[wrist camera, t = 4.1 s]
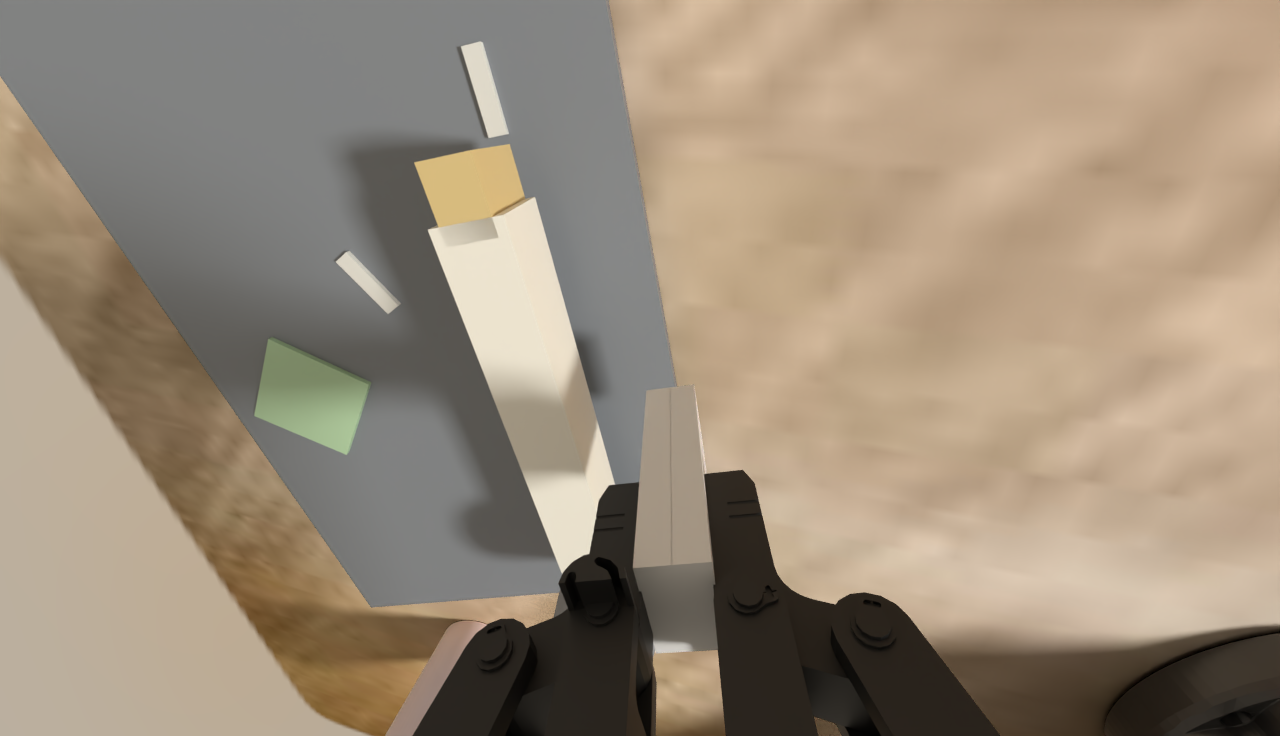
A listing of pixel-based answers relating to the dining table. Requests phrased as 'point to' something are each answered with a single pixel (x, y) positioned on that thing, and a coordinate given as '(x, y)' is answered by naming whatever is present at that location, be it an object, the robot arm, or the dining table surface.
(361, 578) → the dial plate
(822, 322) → the dining table surface
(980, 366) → the dining table surface
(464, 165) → the lever
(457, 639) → the smoothie
